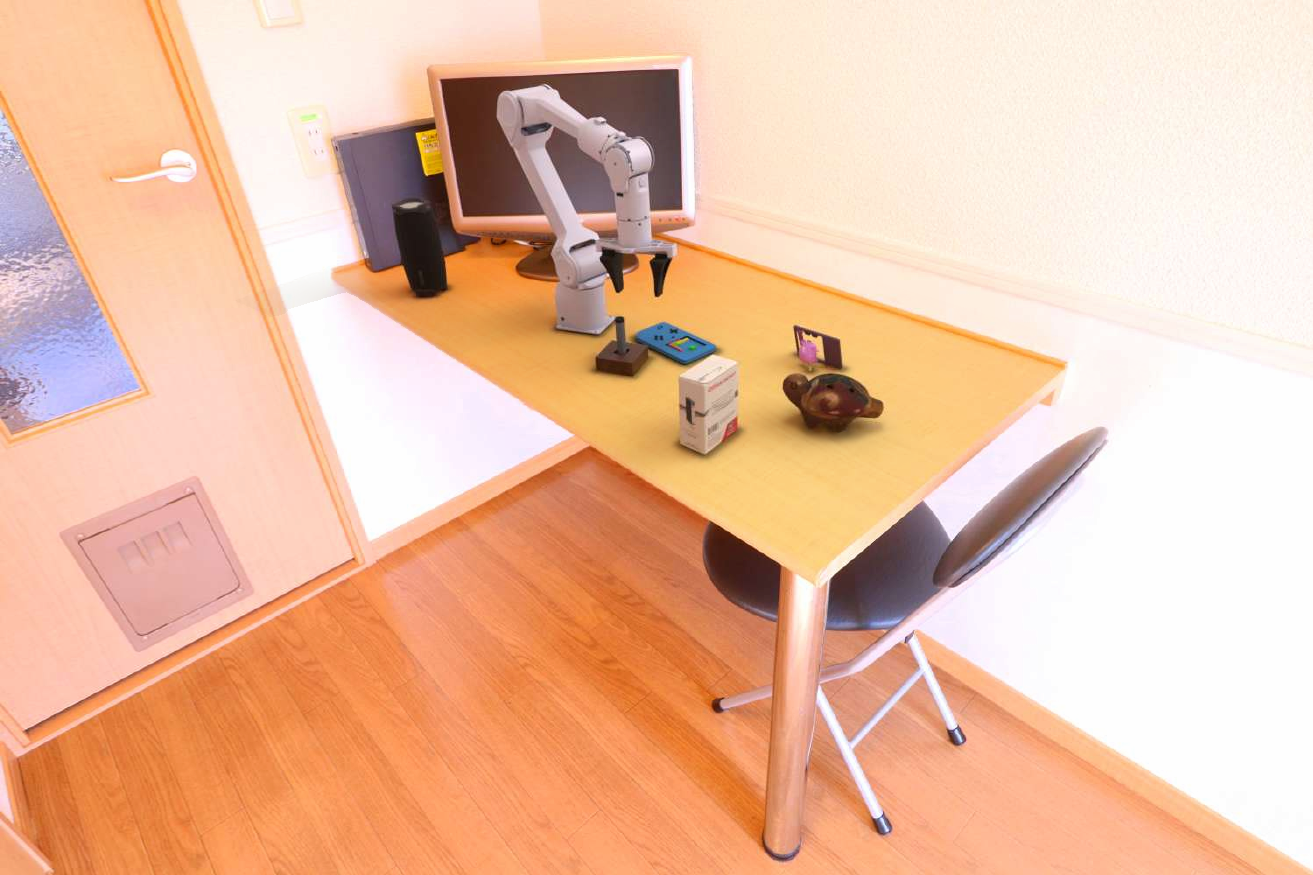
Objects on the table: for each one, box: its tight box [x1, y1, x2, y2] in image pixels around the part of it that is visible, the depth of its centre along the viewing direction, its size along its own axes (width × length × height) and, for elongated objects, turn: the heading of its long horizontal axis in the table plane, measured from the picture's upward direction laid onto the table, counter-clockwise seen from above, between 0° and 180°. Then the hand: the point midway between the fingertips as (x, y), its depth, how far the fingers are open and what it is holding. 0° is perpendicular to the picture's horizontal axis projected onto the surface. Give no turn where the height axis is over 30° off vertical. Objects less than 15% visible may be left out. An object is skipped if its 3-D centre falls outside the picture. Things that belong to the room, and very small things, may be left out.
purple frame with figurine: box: [792, 324, 844, 372], centre depth 123 cm, size 7×5×9 cm
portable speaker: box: [391, 196, 448, 298], centre depth 154 cm, size 9×9×20 cm
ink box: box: [677, 354, 739, 455], centre depth 104 cm, size 8×5×12 cm, turn 140°
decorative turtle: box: [782, 372, 885, 433], centre depth 108 cm, size 10×15×8 cm, turn 84°
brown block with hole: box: [594, 339, 649, 377], centre depth 127 cm, size 7×7×3 cm
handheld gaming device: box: [635, 321, 717, 365], centre depth 133 cm, size 8×1×15 cm
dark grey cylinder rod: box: [614, 315, 627, 355], centre depth 125 cm, size 2×2×9 cm
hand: (639, 293), depth 128 cm, fingers open, 7 cm apart
